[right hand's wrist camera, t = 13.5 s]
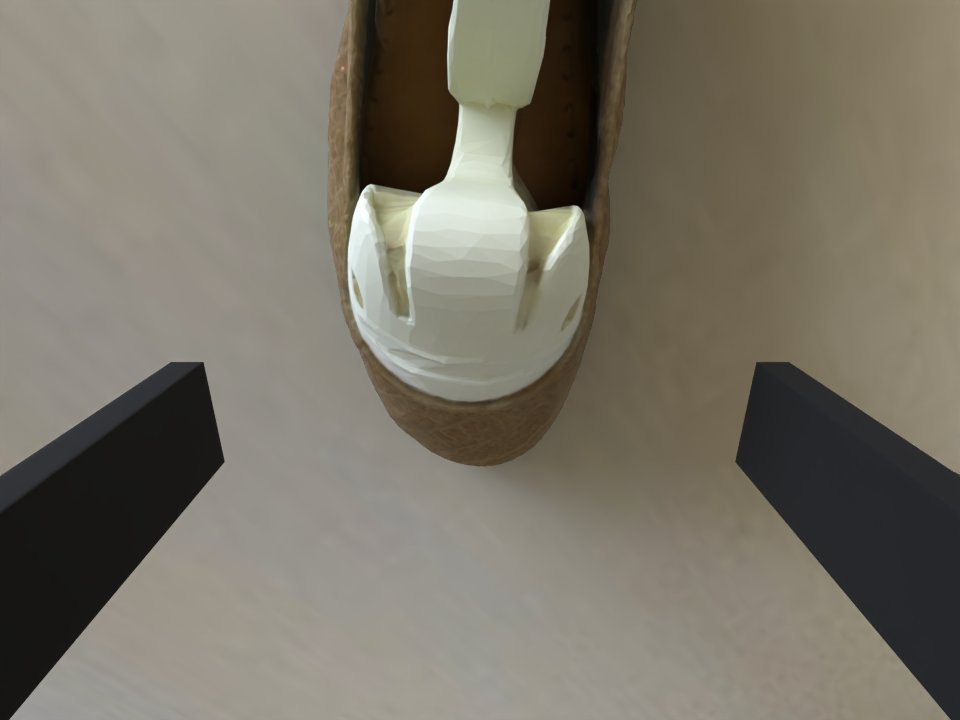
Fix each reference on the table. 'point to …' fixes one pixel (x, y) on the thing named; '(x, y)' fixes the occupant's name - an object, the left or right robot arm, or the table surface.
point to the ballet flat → (474, 206)
